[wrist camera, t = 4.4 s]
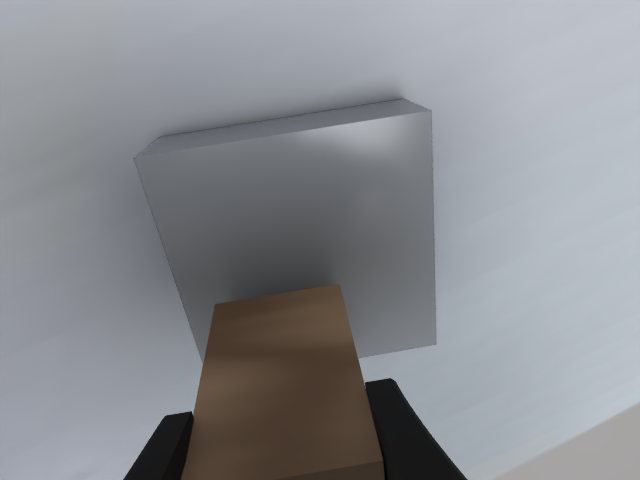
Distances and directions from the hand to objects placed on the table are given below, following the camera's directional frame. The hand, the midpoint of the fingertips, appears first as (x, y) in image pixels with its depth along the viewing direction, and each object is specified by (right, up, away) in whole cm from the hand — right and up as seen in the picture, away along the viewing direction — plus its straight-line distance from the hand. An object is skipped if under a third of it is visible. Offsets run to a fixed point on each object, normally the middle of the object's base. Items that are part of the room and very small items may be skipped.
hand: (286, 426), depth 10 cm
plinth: (0, +5, +7) cm, 9 cm away
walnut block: (0, +1, +4) cm, 5 cm away
